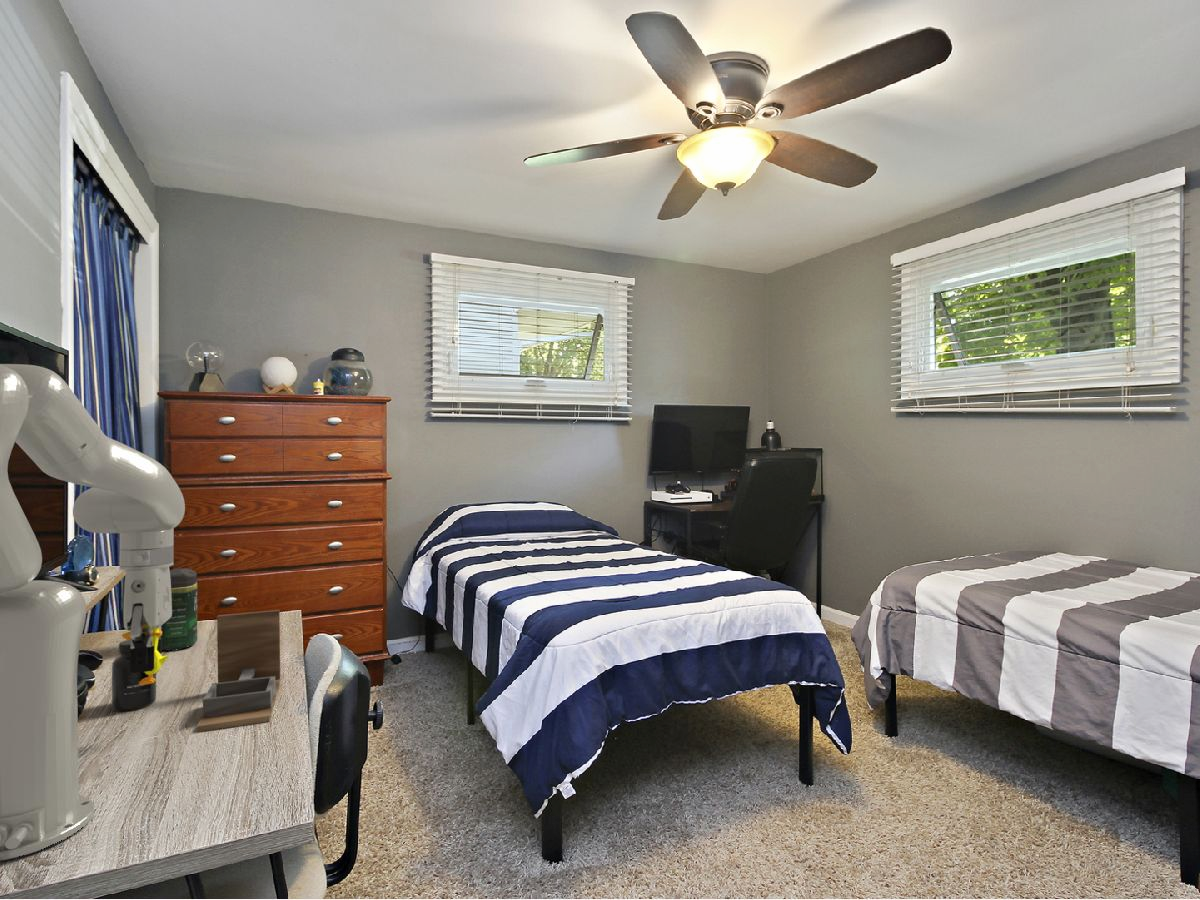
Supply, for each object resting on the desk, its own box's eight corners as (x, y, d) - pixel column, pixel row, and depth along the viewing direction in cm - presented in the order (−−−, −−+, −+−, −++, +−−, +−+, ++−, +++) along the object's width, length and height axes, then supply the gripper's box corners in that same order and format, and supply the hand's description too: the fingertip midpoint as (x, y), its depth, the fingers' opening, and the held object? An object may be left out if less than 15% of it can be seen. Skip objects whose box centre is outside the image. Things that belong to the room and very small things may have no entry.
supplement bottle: (133, 713, 117) (132, 648, 117) (102, 710, 119) (101, 645, 119) (165, 699, 124) (164, 636, 124) (136, 696, 126) (135, 634, 125)
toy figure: (118, 689, 106) (119, 615, 106) (125, 682, 109) (125, 610, 109) (167, 683, 108) (167, 611, 109) (172, 677, 112) (172, 607, 112)
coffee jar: (194, 649, 155) (193, 571, 155) (155, 653, 151) (154, 574, 151) (200, 638, 164) (199, 565, 163) (163, 642, 160) (162, 567, 160)
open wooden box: (269, 721, 114) (268, 636, 114) (197, 731, 110) (196, 644, 110) (280, 682, 132) (279, 609, 132) (218, 690, 128) (218, 615, 128)
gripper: (159, 563, 103) (159, 679, 102) (184, 551, 118) (183, 652, 118) (102, 566, 100) (101, 686, 100) (135, 553, 116) (134, 657, 115)
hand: (146, 666), depth 109 cm, fingers closed on toy figure, 3 cm apart
